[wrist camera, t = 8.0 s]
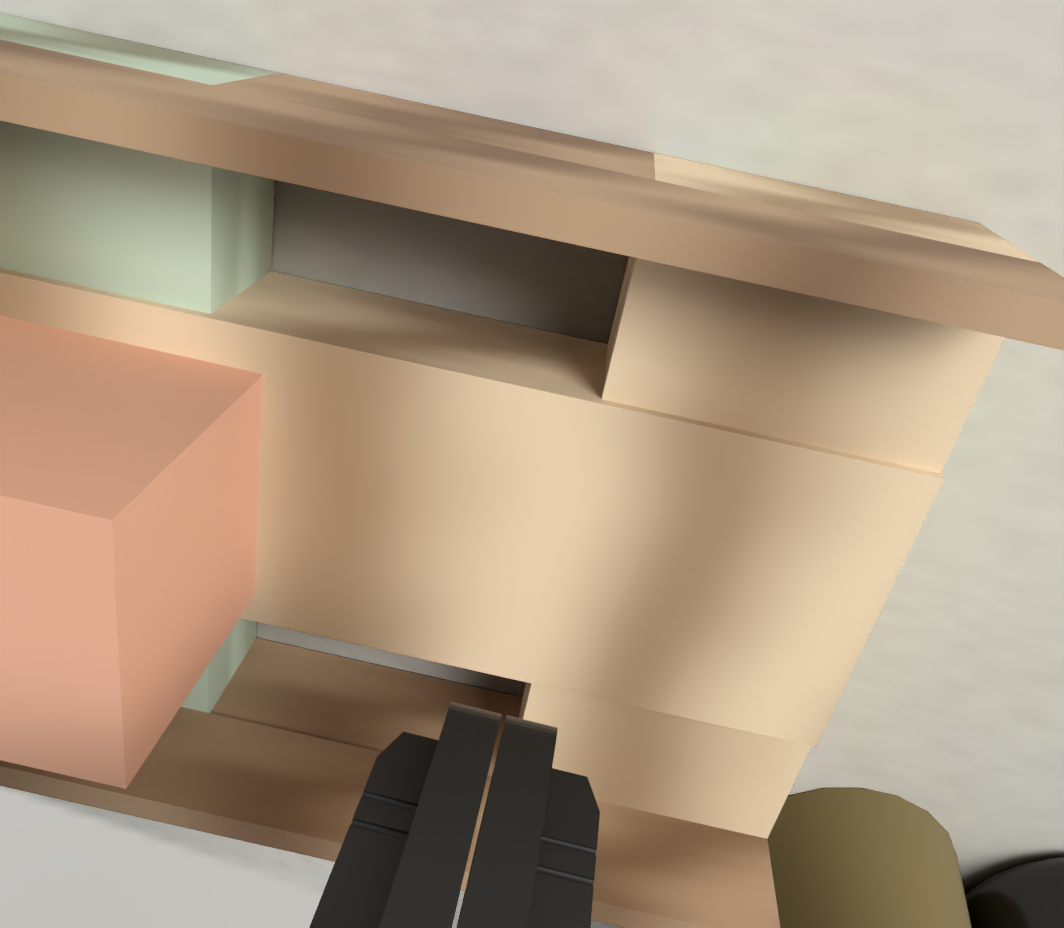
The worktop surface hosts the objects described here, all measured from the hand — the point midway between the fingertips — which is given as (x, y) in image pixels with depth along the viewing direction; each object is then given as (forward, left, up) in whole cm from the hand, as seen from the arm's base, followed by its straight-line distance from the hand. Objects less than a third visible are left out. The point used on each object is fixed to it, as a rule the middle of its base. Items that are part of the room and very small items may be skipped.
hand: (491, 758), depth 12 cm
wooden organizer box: (+3, 0, -8) cm, 9 cm away
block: (+8, 0, -5) cm, 9 cm away
